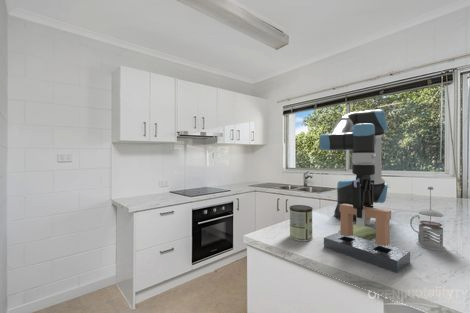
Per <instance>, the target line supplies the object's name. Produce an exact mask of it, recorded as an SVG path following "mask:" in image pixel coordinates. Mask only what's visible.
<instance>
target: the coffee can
mask: <svg viewBox="0 0 470 313" xmlns="http://www.w3.org/2000/svg"><path fill="white" fill-rule="evenodd" d="M313 209H314V208H313V207H312V206H309V205H306V204H293V205H290V206H289V237H290V239H292V240H294V241H299V242H310V241H312V240H313V239H314V238H313Z"/></svg>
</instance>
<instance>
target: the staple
mask: <svg viewBox="0 0 470 313" xmlns="http://www.w3.org/2000/svg"><path fill="white" fill-rule="evenodd" d="M363 209H364V210H365V217H370V218H371V219H375V229H376V237H375V242H376V244H378V245H382V246H387V245H388V246H390V243H391V239H390V238H391V235H390V234H391V233H390V232H391V229H390V227H391V226H390V224H391V223H390V220H392V210H390V209H389V210H388V209H383V208H374V207H373V208H371V207H365V206H364V207H363ZM339 212H341V218H340V230H341V235H344V236H351V235H353V225H354V220H353V214H354V215H356V209H355V208H353V205H351V204H339Z"/></svg>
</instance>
